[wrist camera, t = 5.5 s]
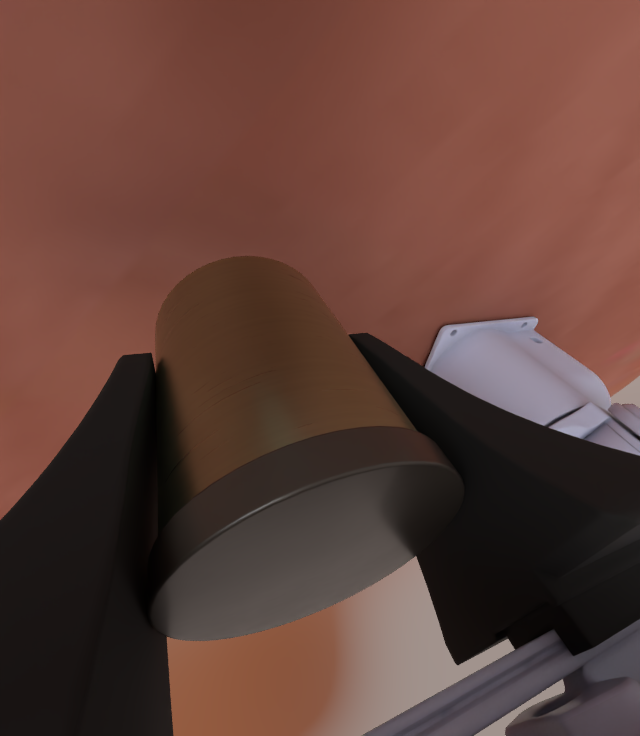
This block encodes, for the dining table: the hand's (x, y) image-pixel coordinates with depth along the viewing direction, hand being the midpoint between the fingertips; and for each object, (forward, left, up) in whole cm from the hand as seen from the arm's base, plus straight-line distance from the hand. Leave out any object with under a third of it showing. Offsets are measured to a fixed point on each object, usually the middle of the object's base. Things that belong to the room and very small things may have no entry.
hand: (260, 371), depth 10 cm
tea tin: (0, 0, -2) cm, 2 cm away
